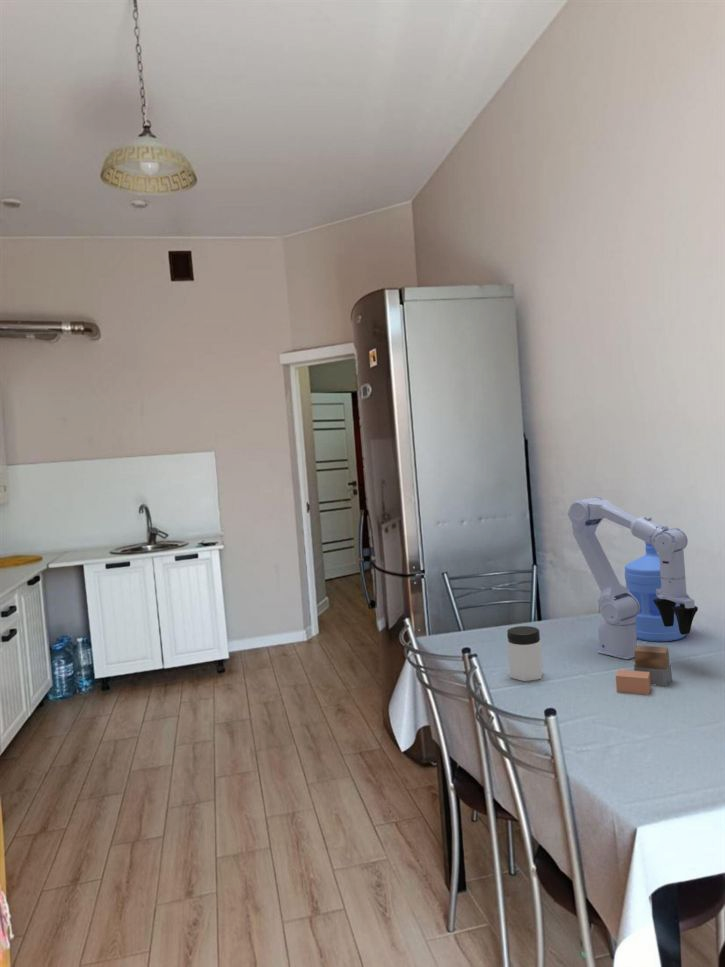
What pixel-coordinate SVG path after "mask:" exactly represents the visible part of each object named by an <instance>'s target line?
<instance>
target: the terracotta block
mask: <svg viewBox="0 0 725 967" xmlns="http://www.w3.org/2000/svg"><path fill="white" fill-rule="evenodd" d="M615 683H616V684H615V686H616V692H617V691H620V692H619V693H624V692H628V693H627V694H635V693H638V694H637V695H646V694H648V696H649V695H650V693H649V692H651V690H652V686H651V685H652V684H651V682H650V672H643V671H634V670H627V669H618V670H617V672H616V674H615Z"/></svg>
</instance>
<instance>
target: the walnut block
mask: <svg viewBox="0 0 725 967" xmlns="http://www.w3.org/2000/svg"><path fill="white" fill-rule="evenodd" d="M634 654H635V657H634V665H635V667H640V668H652V669H664V670H667V669H668V666H669V665H670V655H669V647H666V646H650V645H649V646H648V645H638V644H637V647H636V649H635V650H634Z"/></svg>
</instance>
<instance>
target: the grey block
mask: <svg viewBox="0 0 725 967" xmlns="http://www.w3.org/2000/svg"><path fill="white" fill-rule="evenodd" d="M633 671H643V672H650V682H651V685H653V684H656V685H655V686H658V685H661V686H660V687H663V686H664V687H665V685H666V684H667V685H668V683H669V684H670V683H672V682H673V675H672V674H673V673H672V672H673V671H672V665H671V664H669V666H668V669H667V670H664V669H652V668H640V667H635V664H634V666H633ZM671 681H672V682H671ZM667 685H666V686H667Z"/></svg>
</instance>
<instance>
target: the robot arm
mask: <svg viewBox="0 0 725 967" xmlns="http://www.w3.org/2000/svg"><path fill="white" fill-rule="evenodd" d="M567 516H568V518H569V520H570V522H571V528H572V534H573V537H574V539H575V541H576V543H577V545H578V548H580V551H581V554H582V555H583V558H584V560H585V562H586V564H587V565H588V568H589V569H590V572H591V574H592V575H593V577H594V580H595V582H596V584H597V586H598V588H599V590H600V594H599V596H598V598H597V602H598V604H599V606H600V614H601V617H602V618H603V620H602V621H600V623H599V626H598V640H599V642H598V643H599V644H598V645H599V650H598V651H597V652H598V654H602V655H605V656H606V655H607V656H612V657H615V658H620V659H623V660H624V659H625V660H629V659H630V660H631V659H633V658H635V654H634V650H635V649H636V647H637V645H638V638H637V636H636V622H635V620H636V616H637V615H638V614H639V612H640V604H639V602H638V600H637V599H636V598H635V597H634V596H633V595H632V594H631V593H630V591H629V589H628V588H626V586H624V585H622V584H621V583H620V581H619V579H618V577H617V575H616V572H615V571H614V569H613V566H612V565H611V563H610V561H609V558H608V557H607V555H606V553H605V551H604V549H603V547H602V545H601V543H600V541H599V539H598V537H597V535H596V531H597V529H598V526H599V525H600V524H601V522H602V521H603V520H604V519H606V520H609V521H611V522H614V523H615V524H618V525H620V526H623V527H625V528H627V529H629V530H630V532H631V534H632V536H633V537H635V538H637V539H640V540H641V541H643V542H644V543H645V542H647V543H649V544H651V545H653V546H654V548H655V550H656V551H657V554H658V558H659V561H660V575H661V588H662V589H656V596H657V597H658V599H654V600H653V601H654V603H655V605H656V606H657V608H658V610H659V612H660V615H661V618H662V621H663V624H664V626H665V627H669V626H673V624H674V612H675V615H676V617H677V621H678V626H679V631H680V634H682V635H684V634H686V635H690V634H691V628H692V624H693V621H694V617H695V616H696V614H697V612H698V610H699V608H698V606H696V605H695V600H694V599H693V598H691V597H690V596H689V594H687V581H686V580H687V578H686V567H685V564H686V563H685V553H684V551H685V549H686V548H687V545H688V542H689V541H688V536H687V534H686V533H685V532H684V531H682V530H681V528H678V527H674V528H669V526H668V525H666V524H661V523H659V522H657V521H654V520H652V519H653V518H652V516H649V515H647V516H646V515H645V516H639V517H636V516H635V515H632V514H630V513H629V512H627V511H625V510H623V509H622V508H619V507H618V506H616V505H615V504H613V503H611V501H610V500H608V499H603V497H601V496H594V497H591V498H584V499H577V500H573V501H572V502H571V503H570V505H569V508H568V512H567ZM676 603H678V604H680V606H675V605H676Z"/></svg>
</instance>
